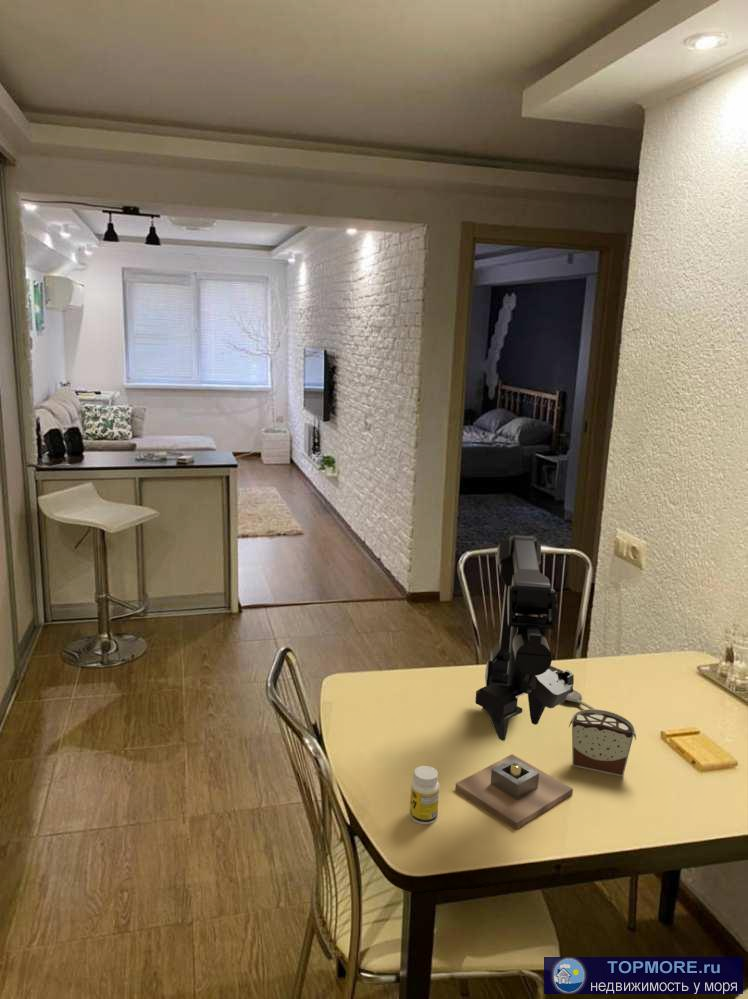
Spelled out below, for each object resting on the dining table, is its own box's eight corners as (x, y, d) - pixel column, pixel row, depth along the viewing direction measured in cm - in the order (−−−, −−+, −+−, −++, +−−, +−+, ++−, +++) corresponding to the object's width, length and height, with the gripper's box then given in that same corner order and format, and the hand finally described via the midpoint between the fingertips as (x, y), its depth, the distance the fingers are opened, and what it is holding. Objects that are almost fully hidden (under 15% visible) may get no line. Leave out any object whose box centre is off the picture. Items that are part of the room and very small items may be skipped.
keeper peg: (513, 779, 134) (514, 760, 133) (525, 786, 131) (527, 767, 131) (503, 785, 132) (505, 765, 131) (515, 792, 130) (517, 772, 129)
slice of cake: (631, 761, 143) (637, 715, 141) (631, 778, 138) (637, 730, 135) (567, 748, 147) (571, 702, 145) (564, 764, 141) (569, 717, 139)
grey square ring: (511, 772, 136) (513, 757, 135) (537, 787, 131) (539, 773, 131) (490, 783, 132) (491, 768, 131) (516, 800, 128) (517, 784, 127)
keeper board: (511, 759, 142) (512, 754, 142) (572, 794, 132) (573, 788, 132) (455, 789, 132) (455, 783, 132) (516, 829, 122) (516, 823, 121)
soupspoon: (564, 692, 173) (543, 699, 170) (565, 679, 173) (543, 686, 170) (637, 733, 154) (615, 742, 151) (638, 719, 154) (616, 727, 151)
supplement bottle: (407, 807, 126) (410, 764, 124) (434, 807, 127) (437, 763, 125) (411, 825, 122) (414, 780, 120) (439, 825, 122) (442, 780, 120)
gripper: (529, 681, 114) (521, 770, 118) (596, 653, 126) (587, 734, 130) (476, 657, 123) (470, 740, 126) (544, 632, 135) (536, 709, 138)
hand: (518, 731), depth 130 cm, fingers open, 9 cm apart
